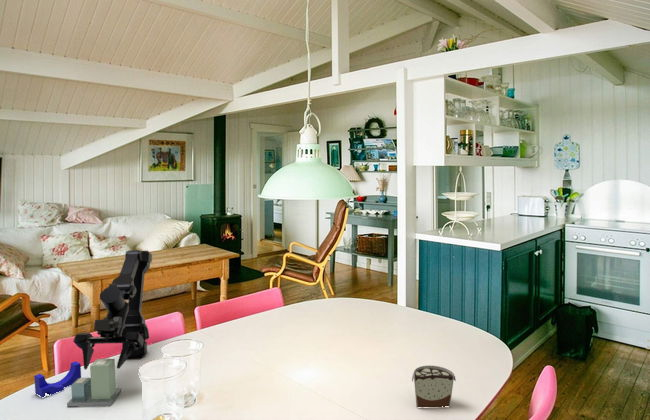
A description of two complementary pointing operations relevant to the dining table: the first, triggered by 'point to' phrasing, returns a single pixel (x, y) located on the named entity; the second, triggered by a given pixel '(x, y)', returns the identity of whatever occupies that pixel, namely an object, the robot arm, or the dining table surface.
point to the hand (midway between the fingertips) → (101, 368)
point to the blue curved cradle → (52, 388)
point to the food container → (433, 386)
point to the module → (103, 378)
